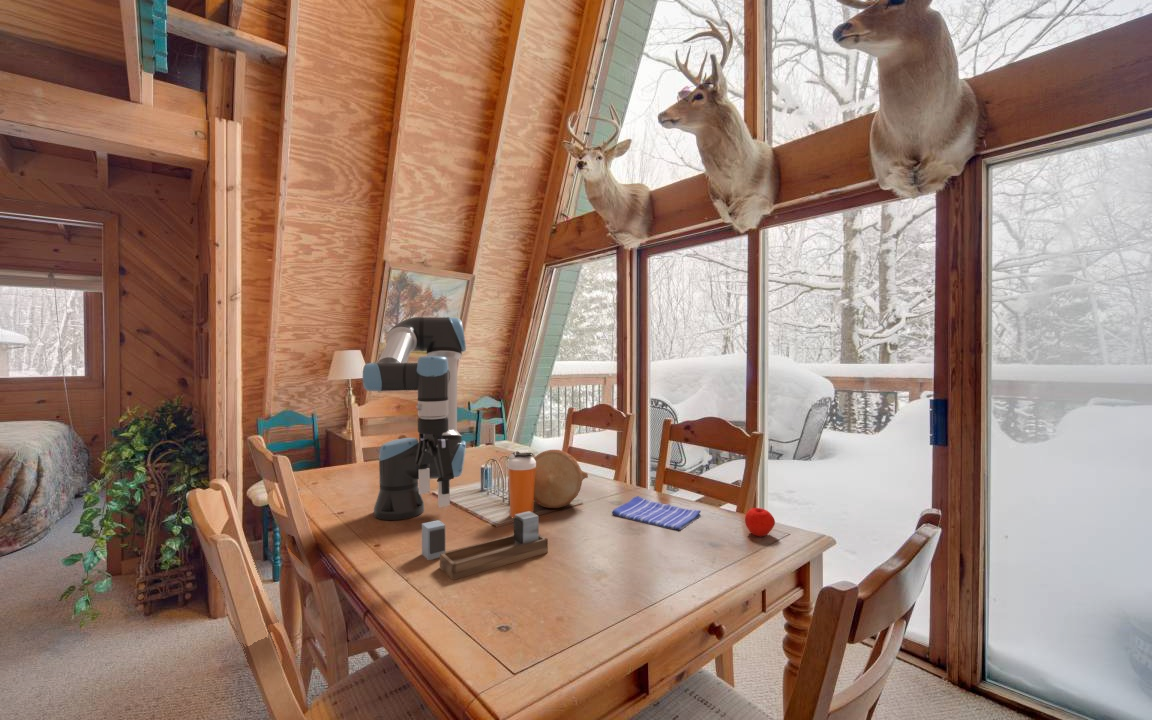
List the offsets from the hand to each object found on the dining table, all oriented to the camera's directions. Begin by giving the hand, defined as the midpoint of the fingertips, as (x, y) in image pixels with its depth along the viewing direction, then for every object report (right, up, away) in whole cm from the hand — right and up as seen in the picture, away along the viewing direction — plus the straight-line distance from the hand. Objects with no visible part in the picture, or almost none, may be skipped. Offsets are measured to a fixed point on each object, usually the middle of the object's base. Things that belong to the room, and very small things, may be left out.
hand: (433, 499), depth 130 cm
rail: (+16, -14, -2) cm, 22 cm away
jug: (+30, -13, +47) cm, 57 cm away
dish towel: (+62, -14, +31) cm, 71 cm away
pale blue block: (0, -14, 0) cm, 14 cm away
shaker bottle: (+19, -14, +30) cm, 38 cm away
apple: (+89, -14, +15) cm, 91 cm away
